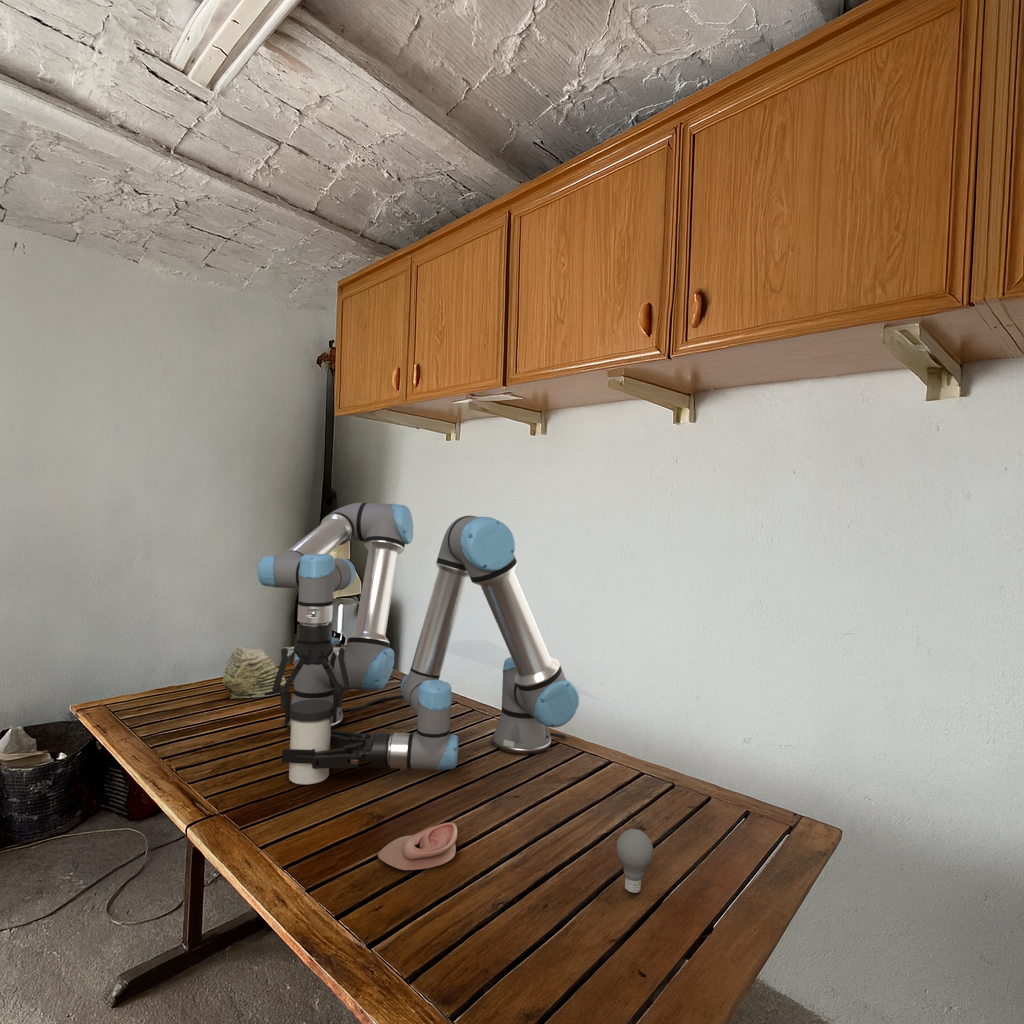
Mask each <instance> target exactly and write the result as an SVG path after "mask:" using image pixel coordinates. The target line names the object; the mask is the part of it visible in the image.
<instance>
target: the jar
mask: <svg viewBox="0 0 1024 1024" xmlns="http://www.w3.org/2000/svg"><path fill="white" fill-rule="evenodd" d="M331 730H332V729H331V717H330V718H327V719H325V720H321V721H314V722H301V721H296V720H293V719H291V729H290V738H289V739H290V740H289V749H302V750H312V749H315V752H318V751H325V750H331V746H330V735H331ZM288 765H289V766H288V779H289V781H290V782H292V783H293V784H297V785H313V784H318V783H321V782H323V781H325V780H326V779H328V778H329V776H330V768H320V769H313V768H312V763H288Z"/></svg>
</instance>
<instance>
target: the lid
mask: <svg viewBox="0 0 1024 1024" xmlns="http://www.w3.org/2000/svg"><path fill="white" fill-rule="evenodd" d="M332 715H333V703H332V702H330V701H327V700H321V699H310V700H302V701H298V702H295V703H293V704H291V705H290V707H289V717H290V718H291V719H293V720H296V721H301V722H314V721H321V720H325V719H327V718H330V717H331V716H332Z"/></svg>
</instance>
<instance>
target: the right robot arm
mask: <svg viewBox="0 0 1024 1024" xmlns="http://www.w3.org/2000/svg"><path fill="white" fill-rule="evenodd" d="M443 535H444V536H443V539H442V540H441V544H440V548H439V552H438V555H437V559H436V562H435V564H436V566H437V568H438V570H437V574H436V578H435V581H434V584H433V588H432V592H431V595H430V599H429V602H428V605H427V609H426V613H425V617H424V621H423V623H422V626H421V631H420V635H419V638H418V641H417V645H416V648H415V652H414V655H413V659H412V663H411V666H410V669H409V673H407V674H406V675H405V676H404V677H403V678H402V680H401V683H400V692H401V695H403V697H402V698H403V699H404V701H405V702H406V703H407V704H408V705H409V706H410V707H411V708H412V710H413V711H414V712H415V713H416V716H417V720H416V721H417V723H416V733H410V732H393V733H392V734H391V733H390V732H374V734H373V735H371V733H370V732H363V733H362V732H353V731H345V730H337V729H331V735H330V747H333V748H334V749H330V750H325V751H318V752H315V749H312V750H302V749H290V748H283V749H282V751H281V763H282V764H283V763H284V764H289V763H312V768H313V769H320V768H329V769H335V768H336V769H337V768H355V769H358V768H360V762H365V761H366V762H367V761H368V762H369V764H370V767H371V768H373V769H387V768H388V767H389V768H390V769H399V770H400V771H404V770H405V769H408V770H411V769H412V770H430V771H431V770H432V771H448V770H454V769H455V768H456V767H457V765H458V758H459V736H458V735H457V734H453V733H451V719H452V704H453V703H452V702H453V696H452V695H453V693H452V685H451V683H449V682H448V681H444V680H442V679H440V678H441V673H442V670H443V666H444V663H445V658H446V656H447V652H448V648H449V645H450V642H451V638H452V635H453V631H454V627H455V623H456V620H457V618H458V617H457V616H458V613H459V610H460V606H461V603H462V599H463V595H464V592H465V589H466V585H467V582H468V579H470V581H471V583H472V584H475V585H477V586H480V588H481V590H482V592H483V595H484V597H485V600H486V602H487V604H488V607H489V609H490V611H491V613H492V616H493V617H494V620H495V623H496V625H497V627H498V630H499V632H500V634H501V636H502V638H503V639H502V640H503V641H504V642H505V646H506V648H507V650H508V652H509V654H510V657H507V658H506V659H505V660H504V662H503V667H502V687H501V688H502V689H501V713H500V716H499V718H498V721H497V724H496V727H495V730H494V732H493V738H492V739H493V745H494V746H495V747H496V748H497V749H499V750H500V751H503V752H506V753H509V754H516V755H536V754H541V753H544V752H546V751H547V750H549V749H550V748H551V747H552V737H554V738H560V739H566V734H563V733H556V732H550V729H549V728H552V729H553V728H555V729H556V728H560V727H562V726H565V725H566V724H567V723H569V722H570V721H571V720H572V719H573V717H574V716H575V715H576V713H577V709H578V708H579V705H580V693H579V691H578V689H577V688H576V687H575V685H574V684H573V682H571V681H569V680H568V679H567V678H566V676H565V675H566V674H565V673H564V670H563V669H562V666H561V664H560V661H559V660H558V659H556V658H554V657H551V656H550V654H549V651H548V648H547V646H546V644H545V642H544V639H543V637H542V634H541V631H540V630H539V628H538V625H537V622H536V620H535V618H534V615H533V613H532V611H531V608H530V606H529V603H528V601H527V599H526V596H525V594H524V591H523V589H522V587H521V585H520V582H519V579H518V577H517V575H516V572H515V570H516V568H517V565H518V561H517V558H516V555H515V551H516V541H515V537H514V534H513V532H512V530H511V529H510V528H509V527H508V526H507V525H506V524H505V523H504V522H502V521H501V520H498V519H496V518H494V517H490V516H476V515H464V516H463V515H462V516H460V517H458V518H456V519H455V520H454V521H453V522H451V523H450V525H449V526H448V527H447V528H446V531H445V533H444V534H443ZM371 736H372V738H371Z"/></svg>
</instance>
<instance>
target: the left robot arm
mask: <svg viewBox="0 0 1024 1024" xmlns="http://www.w3.org/2000/svg"><path fill="white" fill-rule="evenodd" d="M413 539H414V522H413V516H412V513H411V509H410V508H409V507H408V506H406V505H405V504H396V503H381V502H380V503H378V502H377V503H375V502H354V503H350V504H349V503H348V504H347V505H344V506H341V507H339V508H337V509H335V510H333V511H331V512H330V513H328V514H327V515H325V517H323V519H322V520H321V521H320V525H318V526H317V527H316V528H314V529H313V530H312V531H311V532H310V533H308V534H307V535H305V536H303V538H302V539H300V540H299V541H298V542H296V543H295V544H294V545H292V546H291V547H290V548H289V549H288V550H286V551H285V552H284V553H282V554H281V555H266V556H264V557H262V559H261V560H260V562H259V564H258V567H257V576H258V577H257V579H258V581H259V583H260V584H261V585H262V586H264V587H270V588H275V589H278V588H279V589H297V590H298V602H297V622H298V624H297V626H296V643H295V645H294V646H287V645H284V646H282V648H281V651H280V653H281V659H280V663H279V665H278V666H279V667H278V672H277V675H276V679H275V682H274V685H273V688H272V691H273V692H278V693H280V694H279V695H280V704H279V705H280V709H285V710H284V725H285V726H286V728H287V729H289V730H291V718H290V717H289V707H290V705H291V704H293V703H295V702H298V701H302V700H310V699H321V700H327V701H330V702H332V703H333V715H332V716H331V730H334V729H335V728H337V727H339V726H340V725H342V723H343V722H344V714H343V712H348V711H349V712H350V711H355V710H360V709H364V708H366V707H368V706H370V705H372V704H376V703H378V702H382V701H387V700H394V699H398V698H404V697H403V695H402V694H397V695H392V696H386V697H381V698H376V699H373V700H371V701H368V702H367V703H364V704H362V705H358V706H353V707H347V708H342V706H343V701H344V699H343V697H344V693H345V692H350V690H358V691H364V692H368V691H375V692H377V691H381V690H382V689H384V687H385V686H386V685H387V684H388V682H389V681H390V678H391V675H392V673H393V670H394V666H395V665H394V664H395V652H394V650H393V649H392V648H391V647H390V641H389V639H388V638H387V637H386V633H387V628H388V620H389V614H390V608H391V602H392V596H393V591H394V583H395V577H396V570H397V564H398V557H399V556H400V554H402V553H403V552H405V546H406V545H410V544H411V543H412V542H413ZM348 542H364V547H365V549H367V552H368V553H367V559H366V565H365V569H364V575H363V581H362V586H361V587H362V589H361V592H360V598H359V604H358V610H357V615H356V621H355V627H354V632H353V633H351V634H350V635H349V636H348V637H347V641H346V644H341V641H340V639H339V638H338V637H334V636H333V624H332V623H331V622H332V621H333V613H334V593H336V592H338V591H342V590H345V589H347V588H348V587H350V586H351V585H352V584H353V583H354V581H355V579H356V574H357V572H356V568H355V565H354V563H352V562H351V561H350V560H348V559H347V558H338V557H337V558H336V557H334V556H333V555H331V554H330V553H331V552H332V551H334V550H335V549H336V548H337V547H338V546H342V545H345V544H347V543H348ZM293 653H295V654H294V659H293V661H294V669H292V672H291V673H290V675H289V676H288V678H287V680H286V683H285V685H284V686H281V685H280V684H281V681H282V678H283V676H284V674H285V671H286V668H287V665H288V661H289V658H291V657H292V655H293ZM292 684H293V695H292V691H289V689H290V687H291V686H292ZM292 696H293V697H292Z"/></svg>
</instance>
